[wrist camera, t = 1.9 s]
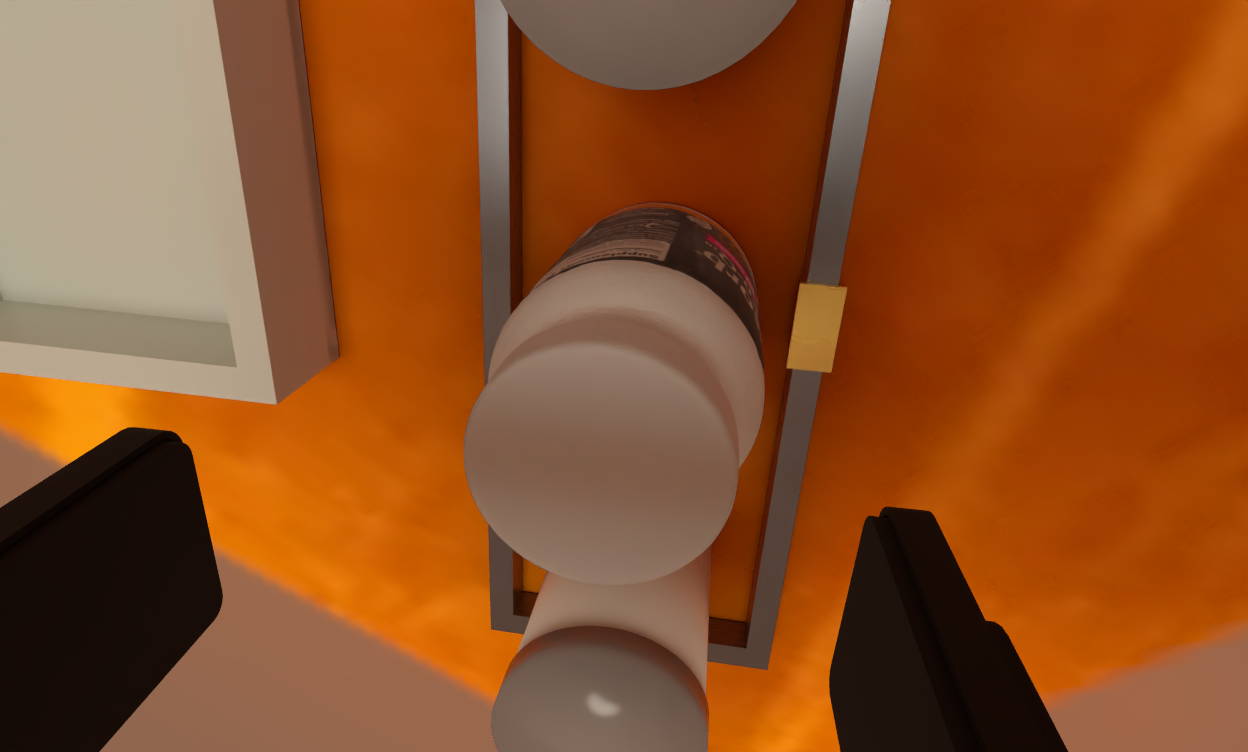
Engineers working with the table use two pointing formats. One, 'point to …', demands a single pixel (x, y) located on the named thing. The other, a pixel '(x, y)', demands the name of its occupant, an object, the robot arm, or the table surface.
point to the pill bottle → (622, 400)
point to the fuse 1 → (647, 36)
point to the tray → (161, 198)
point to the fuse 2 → (611, 667)
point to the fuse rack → (811, 319)
